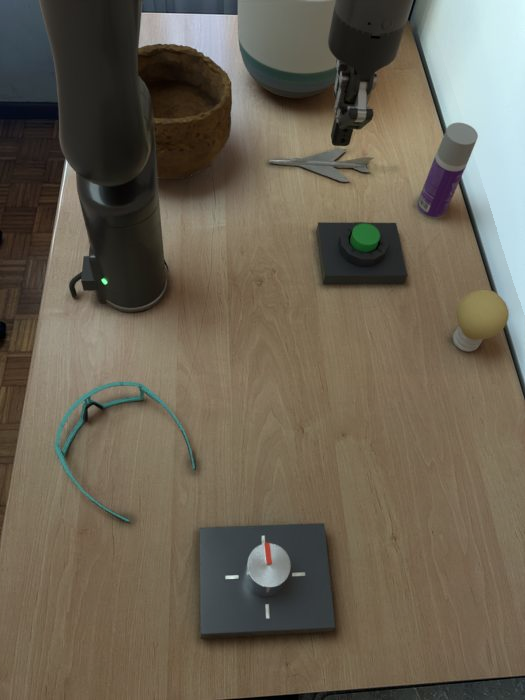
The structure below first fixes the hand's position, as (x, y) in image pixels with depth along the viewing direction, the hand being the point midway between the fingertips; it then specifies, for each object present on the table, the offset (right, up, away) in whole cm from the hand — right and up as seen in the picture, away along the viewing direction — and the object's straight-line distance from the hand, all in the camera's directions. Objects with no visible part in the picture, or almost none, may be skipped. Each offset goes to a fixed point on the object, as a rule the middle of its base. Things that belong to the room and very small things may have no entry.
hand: (339, 141), depth 82 cm
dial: (-9, -50, -10) cm, 52 cm away
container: (+17, -3, +24) cm, 30 cm away
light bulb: (+19, -25, +11) cm, 33 cm away
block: (+5, -12, +17) cm, 22 cm away
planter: (-4, +22, +37) cm, 44 cm away
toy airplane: (+2, +4, +27) cm, 27 cm away
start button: (+5, -10, +14) cm, 18 cm away
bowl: (-24, +5, +25) cm, 35 cm away
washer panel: (-9, -52, -8) cm, 53 cm away
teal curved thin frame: (-26, -38, -1) cm, 46 cm away
